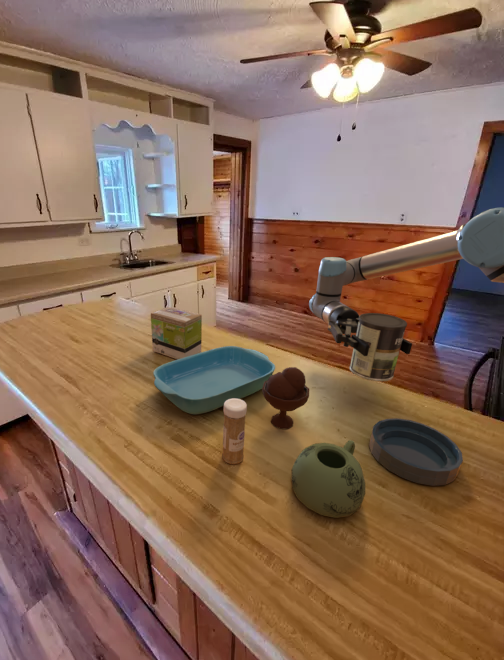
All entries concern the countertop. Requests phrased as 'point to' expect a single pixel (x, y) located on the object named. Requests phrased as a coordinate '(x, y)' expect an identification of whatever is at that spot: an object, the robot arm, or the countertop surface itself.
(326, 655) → the countertop surface
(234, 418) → the sprinkles bottle
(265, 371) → the casserole dish
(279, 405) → the ice cream bowl
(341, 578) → the countertop surface
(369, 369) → the coffee can
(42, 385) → the countertop surface
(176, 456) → the countertop surface
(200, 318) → the tea box
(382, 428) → the dark blue round tray
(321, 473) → the green ceramic pot
